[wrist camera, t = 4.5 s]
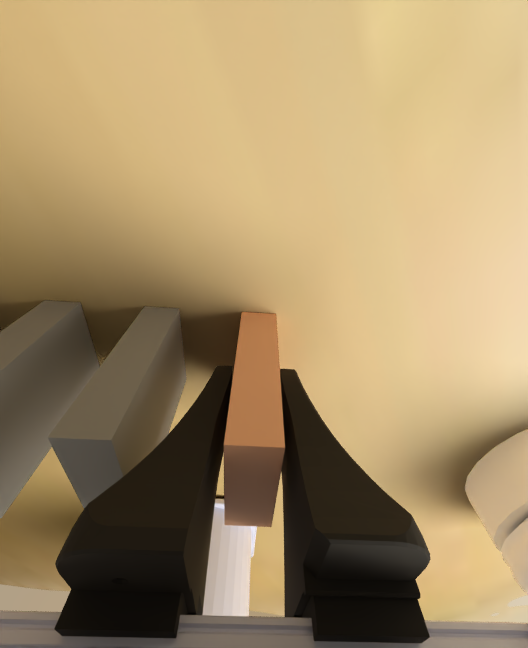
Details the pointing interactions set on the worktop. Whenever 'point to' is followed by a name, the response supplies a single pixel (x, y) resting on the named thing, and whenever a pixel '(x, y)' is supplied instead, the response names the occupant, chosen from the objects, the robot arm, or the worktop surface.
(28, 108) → the worktop surface
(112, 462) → the domino
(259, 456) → the tile
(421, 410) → the worktop surface
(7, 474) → the domino
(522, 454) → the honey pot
